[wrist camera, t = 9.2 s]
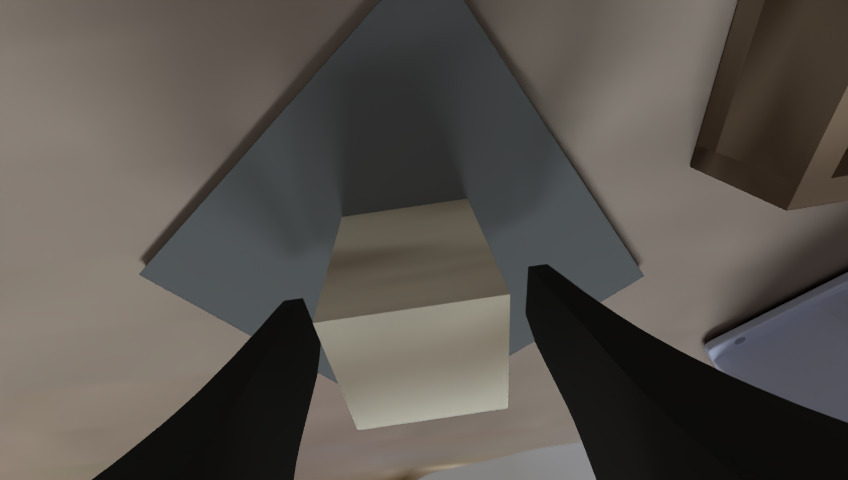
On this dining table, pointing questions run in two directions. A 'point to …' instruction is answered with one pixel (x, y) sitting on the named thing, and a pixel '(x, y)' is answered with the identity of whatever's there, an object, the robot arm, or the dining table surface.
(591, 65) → the dining table surface
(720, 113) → the walnut crate
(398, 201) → the rubber mat
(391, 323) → the birch block
